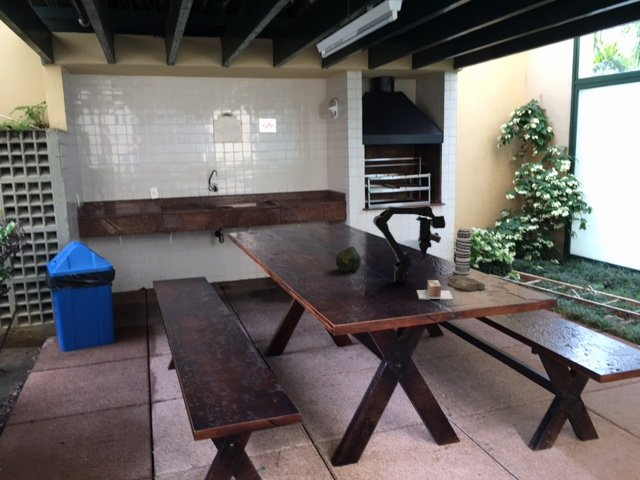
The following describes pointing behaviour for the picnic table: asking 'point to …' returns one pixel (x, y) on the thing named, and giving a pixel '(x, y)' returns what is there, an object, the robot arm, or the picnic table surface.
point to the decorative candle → (463, 251)
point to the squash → (348, 260)
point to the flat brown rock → (465, 283)
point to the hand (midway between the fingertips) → (424, 257)
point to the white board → (425, 295)
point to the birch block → (434, 288)
